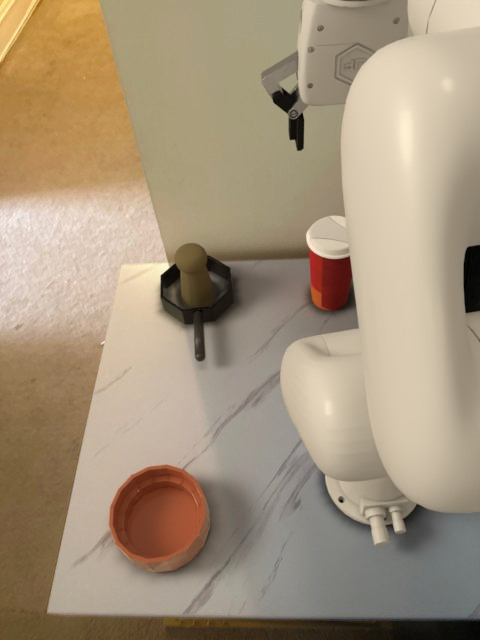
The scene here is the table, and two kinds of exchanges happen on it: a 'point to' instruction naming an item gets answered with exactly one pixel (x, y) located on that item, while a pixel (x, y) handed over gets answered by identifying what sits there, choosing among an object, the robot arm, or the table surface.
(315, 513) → the table surface
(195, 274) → the olive rounded piece
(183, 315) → the pan
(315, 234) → the coffee cup
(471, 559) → the table surface
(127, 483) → the bowl
